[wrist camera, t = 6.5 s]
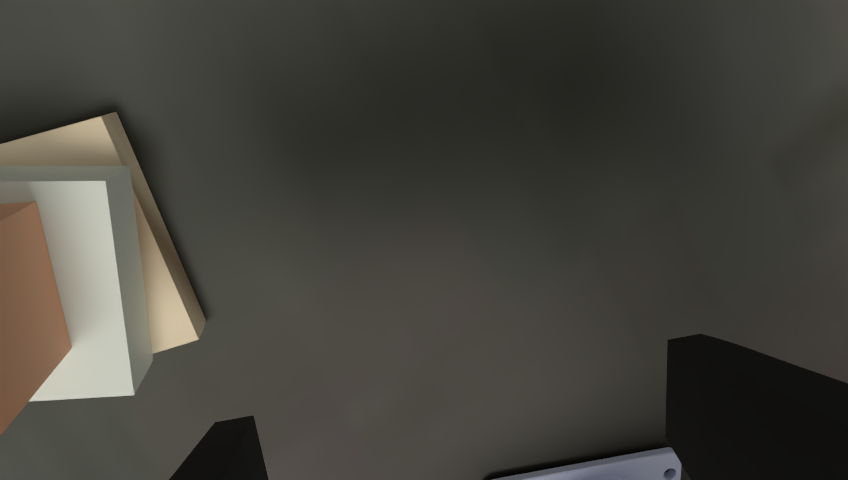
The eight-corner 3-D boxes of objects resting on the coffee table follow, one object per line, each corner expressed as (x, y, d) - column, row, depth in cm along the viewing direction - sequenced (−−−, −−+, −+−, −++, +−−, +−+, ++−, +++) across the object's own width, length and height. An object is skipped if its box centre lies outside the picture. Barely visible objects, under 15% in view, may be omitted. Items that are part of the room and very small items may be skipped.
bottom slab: (210, 312, 21) (198, 339, 19) (2, 375, 20) (-31, 409, 18) (124, 109, 18) (100, 116, 16) (-113, 175, 18) (-165, 190, 16)
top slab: (153, 359, 19) (134, 395, 17) (-65, 371, 18) (-111, 409, 16) (129, 165, 17) (105, 181, 15) (-115, 166, 16) (-173, 183, 14)
